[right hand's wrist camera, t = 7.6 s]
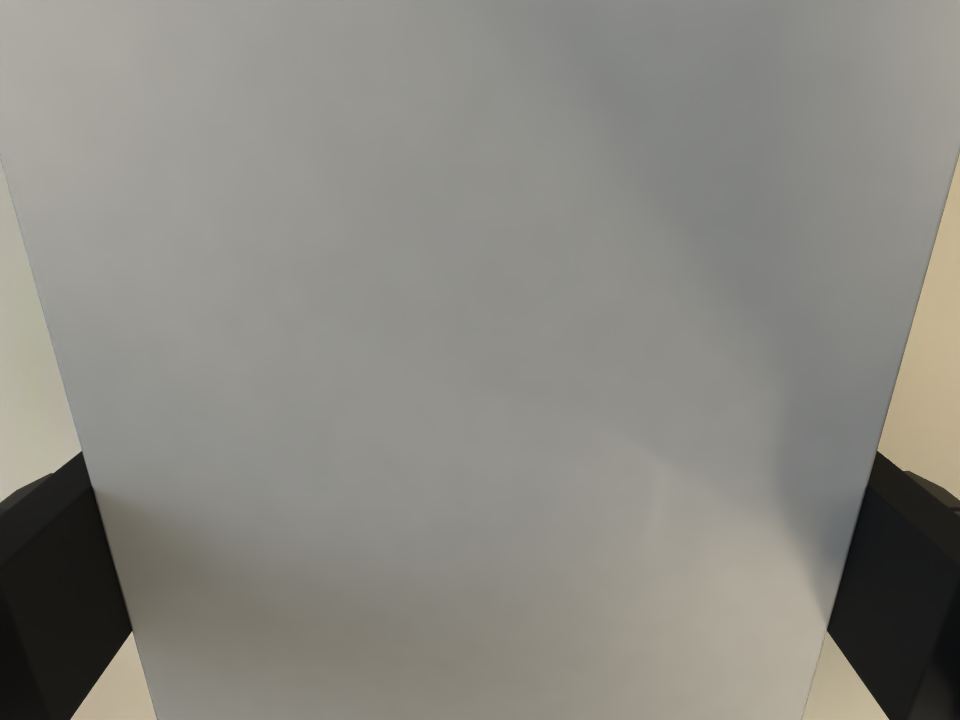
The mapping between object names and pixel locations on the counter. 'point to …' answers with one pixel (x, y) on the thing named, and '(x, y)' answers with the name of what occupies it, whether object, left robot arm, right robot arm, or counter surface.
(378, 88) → the cabinet
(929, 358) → the counter surface
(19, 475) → the counter surface
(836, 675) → the counter surface
